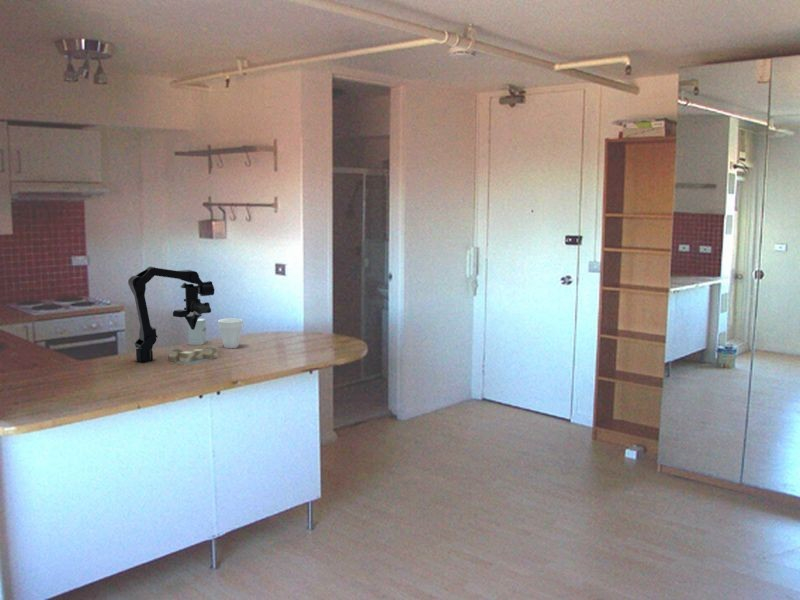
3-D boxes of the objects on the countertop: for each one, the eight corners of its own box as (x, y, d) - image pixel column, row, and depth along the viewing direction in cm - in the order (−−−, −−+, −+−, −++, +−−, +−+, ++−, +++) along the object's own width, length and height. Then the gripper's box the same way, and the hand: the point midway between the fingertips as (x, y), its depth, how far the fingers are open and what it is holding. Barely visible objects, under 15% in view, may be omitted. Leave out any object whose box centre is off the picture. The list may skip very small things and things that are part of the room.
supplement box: (202, 345, 372) (202, 320, 370) (188, 345, 372) (187, 320, 370) (206, 342, 379) (206, 318, 378) (192, 342, 380) (191, 318, 378)
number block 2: (210, 359, 338) (209, 349, 337) (203, 358, 340) (203, 348, 339) (217, 357, 341) (217, 347, 341) (210, 356, 344) (210, 346, 343)
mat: (189, 365, 327) (189, 364, 327) (169, 361, 335) (169, 360, 335) (218, 358, 341) (218, 357, 341) (197, 354, 349) (197, 354, 349)
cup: (216, 345, 371) (215, 319, 369) (240, 343, 376) (239, 317, 374) (221, 350, 360) (220, 322, 358) (246, 348, 365) (245, 321, 363)
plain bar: (186, 362, 332) (185, 353, 331) (179, 361, 334) (179, 352, 333) (206, 357, 342) (206, 349, 341) (199, 356, 344) (199, 348, 343)
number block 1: (175, 361, 333) (175, 351, 332) (169, 360, 335) (168, 350, 335) (183, 359, 337) (183, 349, 336) (176, 358, 339) (176, 348, 338)
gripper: (187, 300, 332) (189, 334, 334) (218, 296, 348) (219, 328, 350) (171, 298, 338) (172, 331, 341) (202, 294, 354) (203, 326, 356)
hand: (192, 329), depth 347 cm, fingers closed
